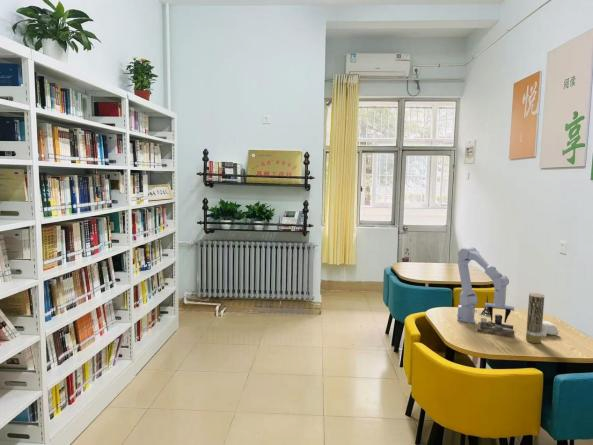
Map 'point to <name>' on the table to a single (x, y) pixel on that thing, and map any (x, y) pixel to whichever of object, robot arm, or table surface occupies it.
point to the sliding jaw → (498, 321)
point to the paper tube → (535, 317)
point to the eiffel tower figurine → (486, 310)
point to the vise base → (490, 328)
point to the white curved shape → (548, 329)
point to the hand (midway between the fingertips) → (498, 321)
